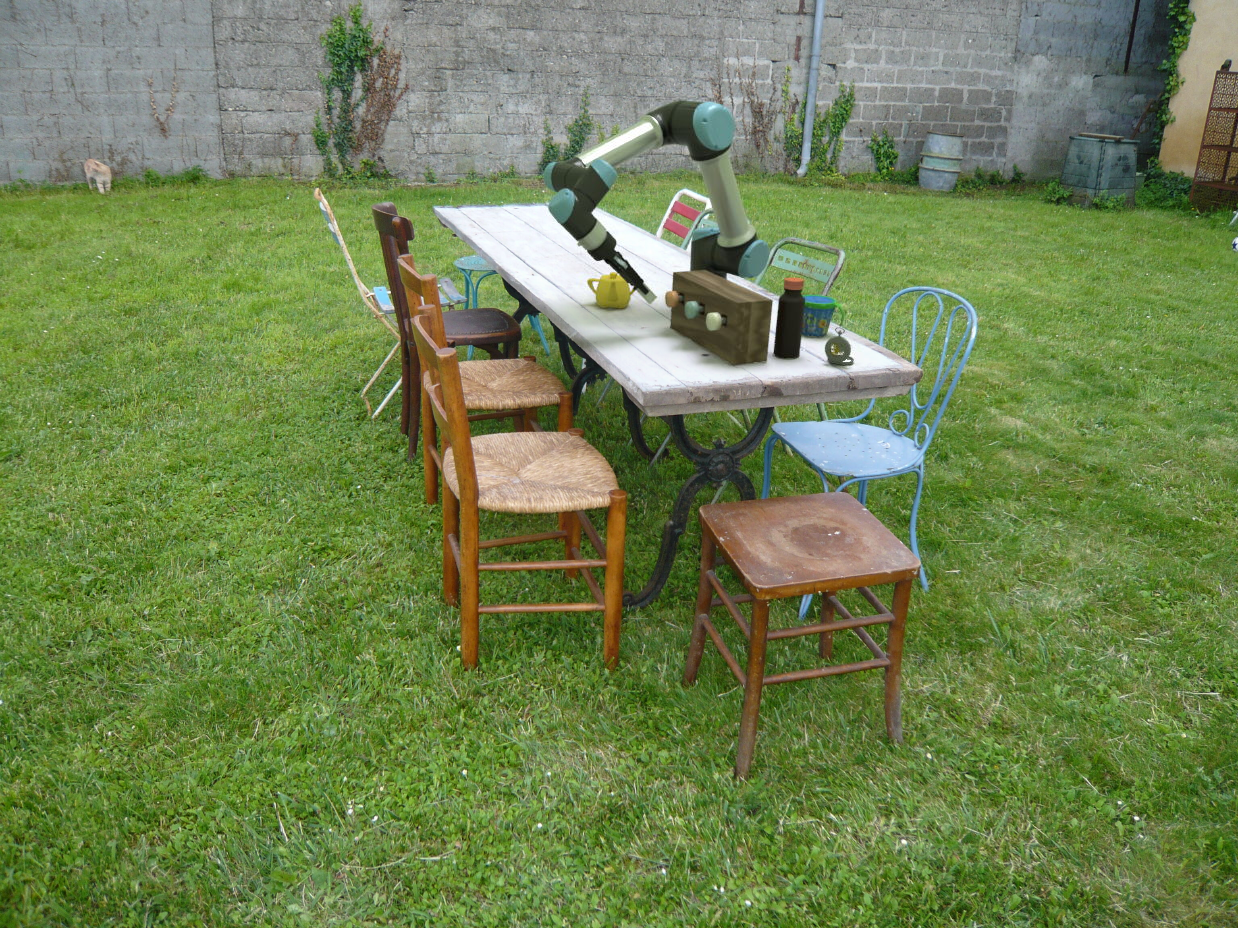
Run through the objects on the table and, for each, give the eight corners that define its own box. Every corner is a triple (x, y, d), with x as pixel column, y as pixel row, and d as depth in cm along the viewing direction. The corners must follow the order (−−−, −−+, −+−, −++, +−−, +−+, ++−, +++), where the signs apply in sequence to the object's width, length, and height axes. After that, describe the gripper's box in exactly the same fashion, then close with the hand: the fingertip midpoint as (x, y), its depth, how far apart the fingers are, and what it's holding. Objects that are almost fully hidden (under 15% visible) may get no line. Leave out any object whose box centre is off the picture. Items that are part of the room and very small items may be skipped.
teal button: (691, 320, 240) (692, 304, 239) (684, 316, 244) (685, 300, 242) (710, 318, 242) (711, 302, 241) (702, 314, 246) (703, 298, 244)
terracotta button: (671, 309, 250) (672, 293, 249) (664, 305, 254) (665, 289, 252) (689, 307, 252) (690, 292, 251) (682, 304, 256) (683, 288, 254)
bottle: (781, 350, 245) (789, 275, 237) (804, 355, 242) (812, 279, 233) (768, 355, 241) (775, 279, 232) (791, 360, 237) (799, 283, 229)
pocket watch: (849, 358, 240) (854, 321, 236) (858, 368, 233) (863, 330, 228) (818, 357, 240) (823, 320, 236) (826, 367, 232) (831, 329, 228)
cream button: (713, 332, 230) (714, 315, 229) (705, 328, 234) (706, 311, 232) (732, 330, 232) (734, 313, 231) (724, 326, 236) (725, 309, 234)
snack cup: (845, 334, 261) (850, 299, 257) (834, 343, 253) (839, 306, 249) (793, 325, 268) (797, 291, 264) (780, 334, 260) (784, 298, 255)
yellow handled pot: (644, 308, 282) (645, 274, 278) (612, 314, 275) (612, 280, 270) (615, 299, 292) (615, 266, 288) (583, 304, 284) (583, 271, 280)
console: (732, 365, 232) (737, 302, 225) (670, 328, 262) (673, 272, 255) (766, 361, 236) (772, 300, 229) (701, 325, 266) (705, 270, 259)
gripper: (577, 247, 242) (633, 304, 255) (596, 256, 231) (653, 316, 244) (597, 225, 242) (651, 284, 255) (616, 234, 231) (672, 295, 244)
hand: (652, 300), depth 250 cm, fingers closed
